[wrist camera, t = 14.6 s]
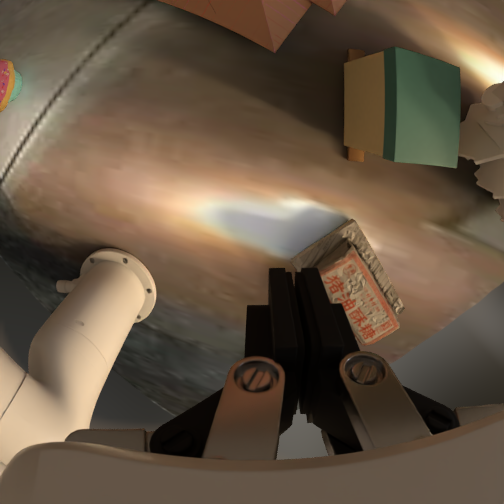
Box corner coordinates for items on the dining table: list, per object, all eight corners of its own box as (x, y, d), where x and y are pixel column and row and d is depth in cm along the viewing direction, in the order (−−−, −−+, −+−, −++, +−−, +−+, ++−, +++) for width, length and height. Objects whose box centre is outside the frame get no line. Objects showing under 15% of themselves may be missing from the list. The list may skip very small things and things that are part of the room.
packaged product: (414, 323, 39) (357, 358, 42) (402, 304, 43) (350, 337, 46) (363, 229, 33) (292, 276, 36) (352, 215, 37) (288, 257, 40)
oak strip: (346, 159, 34) (348, 160, 34) (347, 49, 28) (348, 48, 28) (362, 160, 34) (363, 161, 34) (363, 51, 28) (364, 50, 28)
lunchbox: (393, 162, 23) (456, 168, 24) (394, 46, 18) (460, 67, 19) (343, 146, 33) (399, 150, 34) (343, 62, 28) (400, 72, 29)
